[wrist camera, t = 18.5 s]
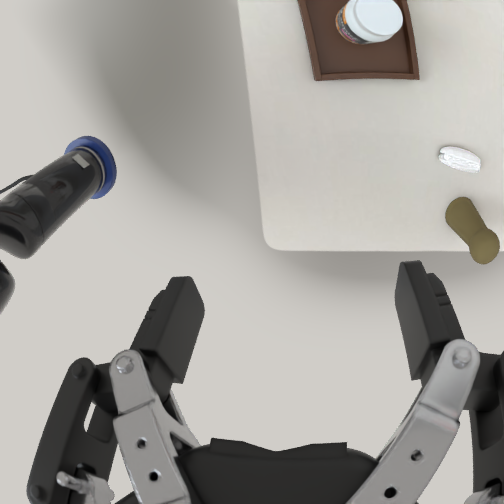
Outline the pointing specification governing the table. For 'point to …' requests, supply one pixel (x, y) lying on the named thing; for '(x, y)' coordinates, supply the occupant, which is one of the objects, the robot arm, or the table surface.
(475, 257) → the cork
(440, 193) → the table surface
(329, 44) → the tray
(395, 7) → the pill bottle
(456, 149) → the sub sandwich
